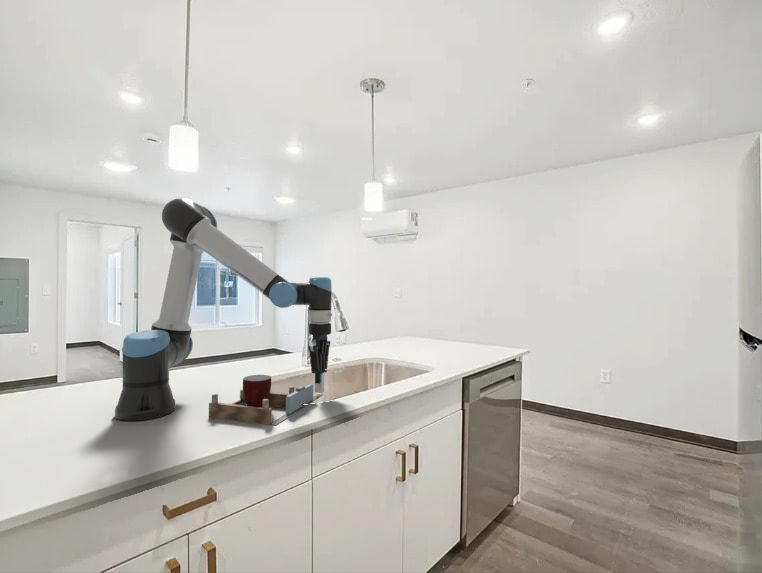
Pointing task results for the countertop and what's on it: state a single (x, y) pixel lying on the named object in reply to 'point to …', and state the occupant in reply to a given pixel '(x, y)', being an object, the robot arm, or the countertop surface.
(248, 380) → the mug
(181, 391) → the countertop surface
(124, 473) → the countertop surface
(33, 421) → the countertop surface
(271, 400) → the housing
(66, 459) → the countertop surface
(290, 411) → the gate
